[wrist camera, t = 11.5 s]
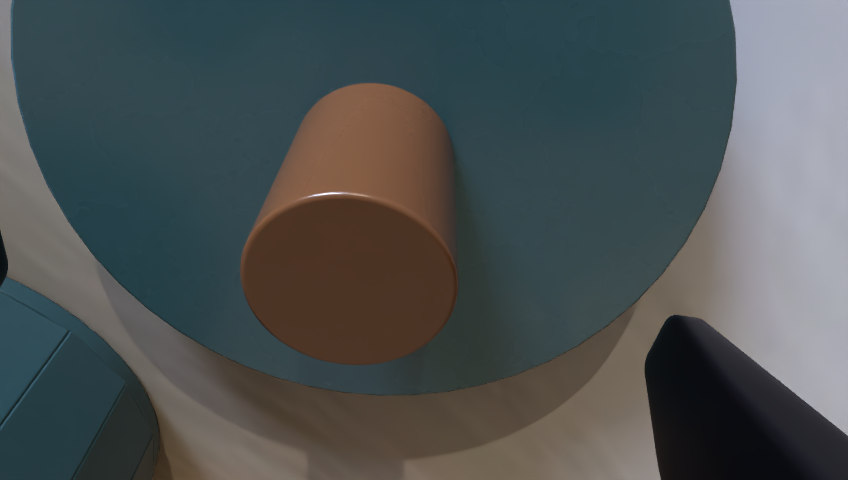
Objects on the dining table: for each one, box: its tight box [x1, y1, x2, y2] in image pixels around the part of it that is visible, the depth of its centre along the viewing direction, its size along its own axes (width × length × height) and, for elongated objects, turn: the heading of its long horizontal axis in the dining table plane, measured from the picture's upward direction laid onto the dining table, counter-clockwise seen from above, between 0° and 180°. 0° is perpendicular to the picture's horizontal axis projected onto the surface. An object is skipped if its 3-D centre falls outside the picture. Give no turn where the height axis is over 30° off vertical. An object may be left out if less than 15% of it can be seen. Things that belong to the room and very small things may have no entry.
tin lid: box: [11, 0, 737, 395], centre depth 11 cm, size 13×13×5 cm
